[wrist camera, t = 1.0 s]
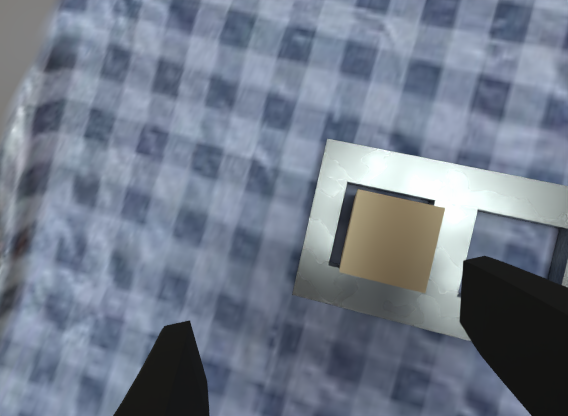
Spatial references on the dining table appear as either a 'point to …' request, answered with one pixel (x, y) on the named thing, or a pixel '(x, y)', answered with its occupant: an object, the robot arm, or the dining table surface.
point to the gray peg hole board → (452, 238)
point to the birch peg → (391, 240)
